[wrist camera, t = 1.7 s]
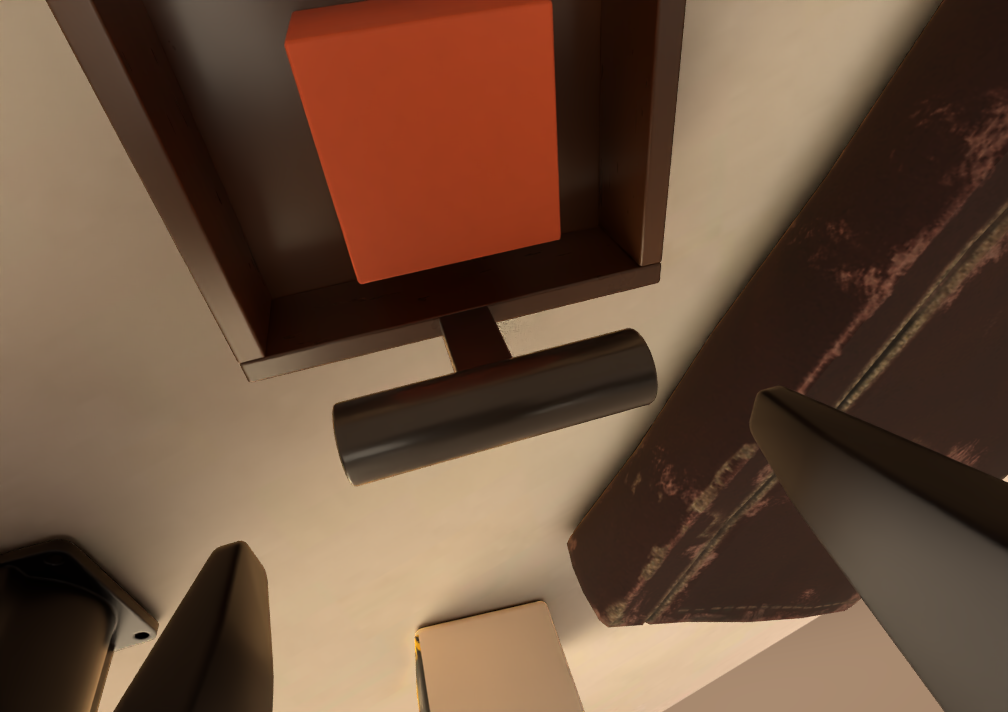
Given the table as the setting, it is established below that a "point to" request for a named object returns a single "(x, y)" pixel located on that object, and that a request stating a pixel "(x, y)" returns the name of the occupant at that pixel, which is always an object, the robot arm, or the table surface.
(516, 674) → the medicine bottle
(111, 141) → the table surface
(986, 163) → the diary
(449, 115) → the cube
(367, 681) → the table surface
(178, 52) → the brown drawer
